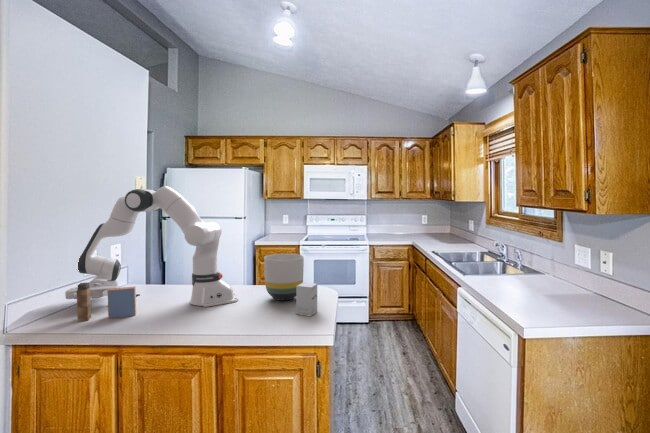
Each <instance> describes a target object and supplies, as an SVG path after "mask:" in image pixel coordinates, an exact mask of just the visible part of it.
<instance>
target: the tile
mask: <svg viewBox="0 0 650 433" xmlns="http://www.w3.org/2000/svg"><path fill="white" fill-rule="evenodd" d="M107 292H108V296H107V315H108V316H107V318H108V320H110V319H116V318H117V319H119V318H125V317H128V318H129V317H134V316H136V315H137V301H136V300H137V297H136V294H137V291H136V286H125V287H119V288H111V289H108V290H107Z"/></svg>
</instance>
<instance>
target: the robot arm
mask: <svg viewBox="0 0 650 433" xmlns="http://www.w3.org/2000/svg"><path fill="white" fill-rule="evenodd" d="M160 210H162V211H163V212H164V213H165V214H166V215H167V216H168V217H170V219H172V221H174V222H175V223H176V225H178V227H179V228H180V230H181V232H182V233H183V235H184V240H185V241H186V243H187V244H189V245H190V246H194V247H195V250H194V254H193V256H192V273H191V285H192V290H191V296H190V301H189V304H190V305H193V306H201V307H205V308H207V307H212V306H213V307H214V306H219V305H224V304H232V303H237V301H239V298H238V297H239V296H238V294H236V293H234V289H233V287H232V286H231V284H229V283H228V282H226V281H225V280H223V279H222V278H223V277H224V276H223V273H221V272H220V271H218V269H217V268H218V264H217V262H218V258H217V257H218V249H219V244H220V238H221V235H222V228H221V226H220V224H218V223H217V222H215V221H211V220H207V221H204V220H203V219H202V218H201V217H200V215H199V214H198V212H197V209H196V208H195V207H194V205H192V203H190V202H189V201H188V200H187V199H186V198H185V197H184V196H183V195H182V194H181V193H179V192H178V191H176V190H175V189H174V188H172V187H171V186H167V185H166V186H165V185H164V186H162V187H159V188H158V189H147V188H137V189H132V190H129V191H128V192H127V193H126V194H125V195H123V196H121V197H119V198H118V199H117V201H115V204H114V206H113V208H112V210H111V213H110V215H109V217H108V219H107V221H105V222H103V223H100V224H99V225H98V227H96V229H95V231H94V232H93V234H92V235H91V238H90V239H89V241H88V243H87V245H86V246H85V248H84V250H83V251H82V253H81V254H80V256H79V257H80V258H79V257H78V258H79V262H78V270H79V271H78V270H77V271H78V273H79V274H82V275H92V276H95V277H94V278H93V279H92V280H90V281H89V287H90V297H91V299H100V298H102V297H103V298H104V297H108V292H107V290H108V289H111V288H120V287H119V286H120V285H119V282H118V280H117V279H118V278H119V274H120V272H121V266H122V264H121V263H120V261H119V260H118V259H116V258H112V257H107V256H103V255H99V254H95V251H96V250H97V247H98V246H99V244H100V242H101V241H102V240H103V239H106V238H113V237H122V236H126V235H128V234H129V233H131V232H132V231H133V229H134V227H135V224H136V221H137V217H138V215H139V213H141V212H143V213H144V212H145V213H149V212H157V211H160ZM77 290H78V286H77V287H72V288H69V289H67V290H66V291H65V295H64V297H65V299H66V300H77Z"/></svg>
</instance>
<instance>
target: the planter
mask: <svg viewBox="0 0 650 433" xmlns="http://www.w3.org/2000/svg"><path fill="white" fill-rule="evenodd" d="M263 258H264V260H263V261H264V262H263V266H264V267H263V268H264V271H263V272H264V284H265V289H266V292H267V293H268V294H269V296H271V298H273V299H275V300H277V301H283V302H284V301H285V302H286V301H290V300H293V299H295V298H296V286H298V285H299V284H301V283H304V272H305V271H304V270H305V269H304V267H305V266H304V264H305V262H304V255H301V254H298V253H275V254H268V255H265V256H264V257H263Z"/></svg>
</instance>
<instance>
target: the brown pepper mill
mask: <svg viewBox="0 0 650 433" xmlns="http://www.w3.org/2000/svg"><path fill="white" fill-rule="evenodd" d="M89 282H90V281H89ZM89 282H80V283H79V284H77V287H78V290H77V299H76V310H77V311H76V312H77V323H81V322H88V321H89V320H90V319H91V318H92V309H91V308H92V304H91V301H92V300H91V299H92V298H91V297H90V287H89Z"/></svg>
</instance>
